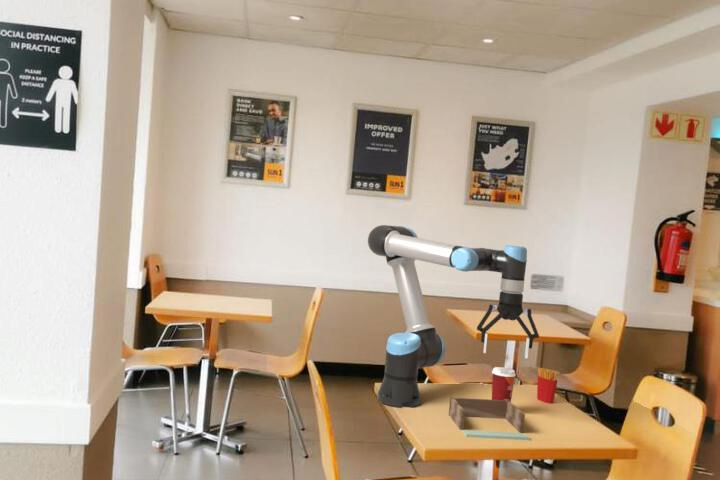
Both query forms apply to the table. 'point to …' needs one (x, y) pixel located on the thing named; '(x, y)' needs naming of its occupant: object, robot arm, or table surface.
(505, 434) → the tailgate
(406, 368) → the robot arm
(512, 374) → the coffee cup
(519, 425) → the crate
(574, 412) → the table surface
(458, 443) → the table surface
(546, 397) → the french fries
